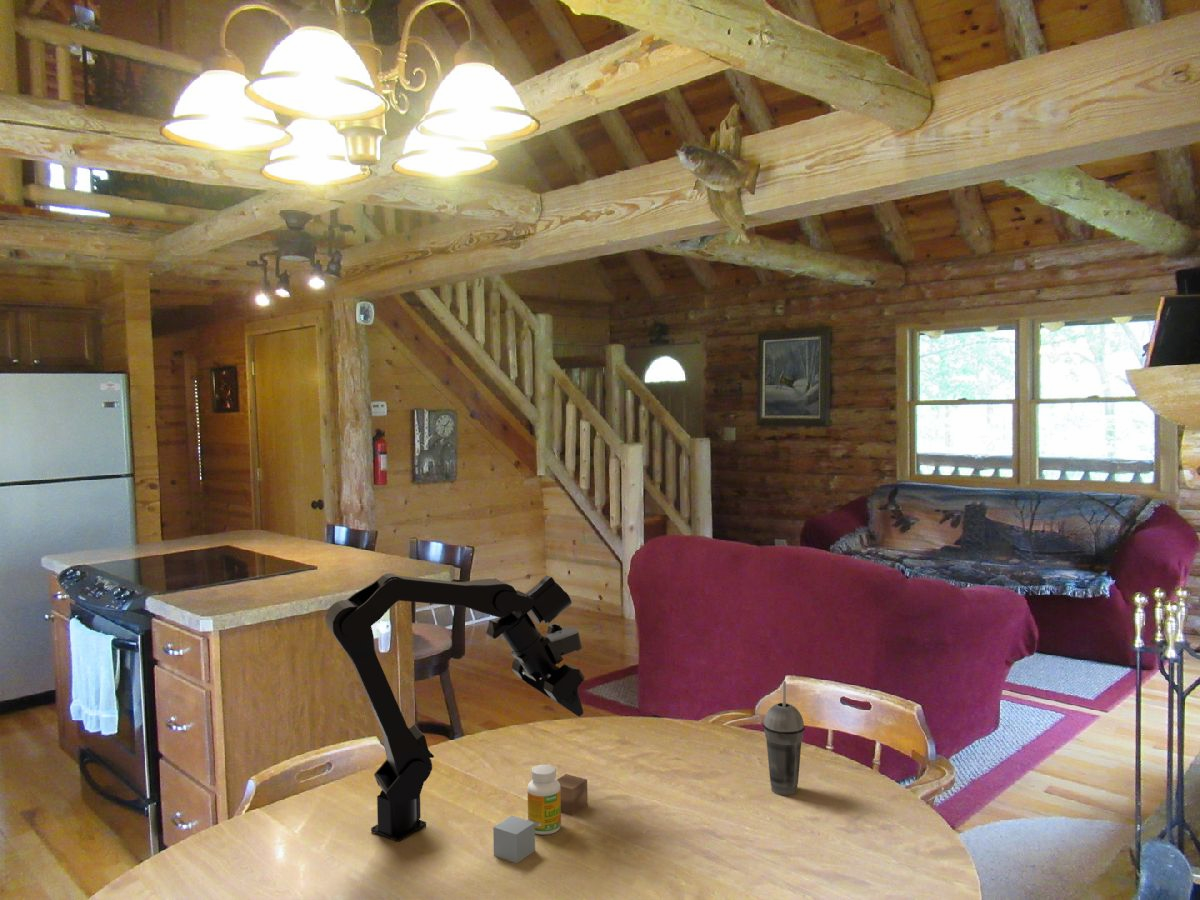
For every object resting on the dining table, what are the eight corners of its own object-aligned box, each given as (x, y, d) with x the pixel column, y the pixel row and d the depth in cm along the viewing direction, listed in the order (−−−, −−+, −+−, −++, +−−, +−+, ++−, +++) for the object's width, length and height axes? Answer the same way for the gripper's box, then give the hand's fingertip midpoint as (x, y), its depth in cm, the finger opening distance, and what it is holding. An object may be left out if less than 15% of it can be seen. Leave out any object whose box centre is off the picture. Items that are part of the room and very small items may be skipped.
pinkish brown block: (572, 815, 144) (572, 789, 144) (551, 809, 147) (550, 783, 147) (587, 805, 148) (587, 779, 148) (566, 799, 151) (566, 773, 150)
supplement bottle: (546, 839, 136) (545, 778, 136) (521, 829, 139) (520, 770, 139) (567, 826, 140) (566, 767, 140) (542, 817, 144) (542, 760, 143)
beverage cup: (802, 782, 156) (801, 673, 156) (807, 799, 149) (807, 686, 148) (761, 781, 157) (761, 673, 156) (765, 798, 150) (764, 685, 149)
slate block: (516, 864, 129) (516, 834, 129) (493, 855, 131) (493, 827, 131) (535, 851, 132) (534, 822, 132) (512, 843, 135) (511, 815, 135)
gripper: (584, 622, 145) (627, 691, 149) (538, 602, 161) (579, 665, 165) (533, 665, 140) (580, 735, 145) (492, 640, 157) (535, 704, 161)
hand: (569, 707), depth 154 cm, fingers open, 9 cm apart
